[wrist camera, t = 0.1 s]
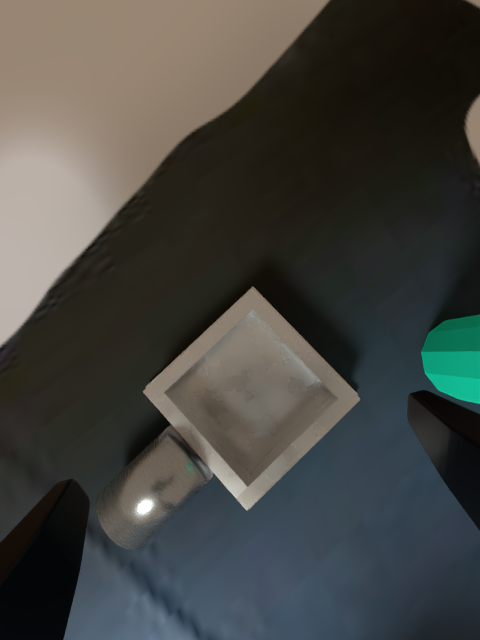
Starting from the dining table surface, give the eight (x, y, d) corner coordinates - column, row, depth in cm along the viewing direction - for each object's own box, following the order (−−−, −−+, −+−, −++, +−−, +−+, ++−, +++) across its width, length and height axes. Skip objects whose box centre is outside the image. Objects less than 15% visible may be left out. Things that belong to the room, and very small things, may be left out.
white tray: (355, 393, 22) (381, 403, 18) (186, 560, 22) (169, 612, 17) (253, 287, 24) (253, 272, 19) (88, 442, 23) (49, 463, 18)
